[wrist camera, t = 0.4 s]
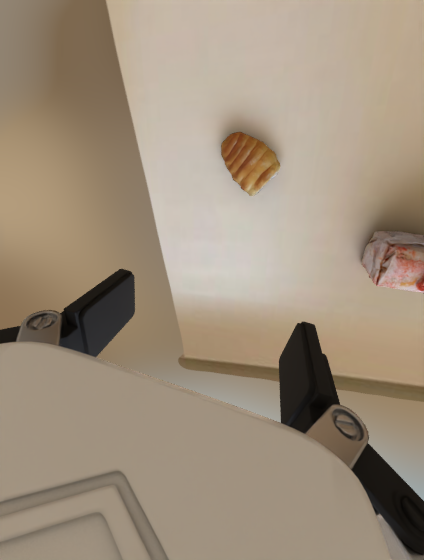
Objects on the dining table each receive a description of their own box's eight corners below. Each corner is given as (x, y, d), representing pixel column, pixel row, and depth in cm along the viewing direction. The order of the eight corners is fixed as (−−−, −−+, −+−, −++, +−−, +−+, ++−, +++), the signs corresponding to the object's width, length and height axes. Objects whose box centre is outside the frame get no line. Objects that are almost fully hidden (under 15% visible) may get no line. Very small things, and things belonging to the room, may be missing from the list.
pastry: (213, 158, 36) (207, 158, 32) (241, 118, 32) (238, 113, 29) (254, 198, 37) (252, 201, 34) (285, 164, 34) (287, 164, 30)
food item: (351, 268, 39) (373, 298, 30) (368, 224, 35) (399, 244, 26) (441, 279, 36) (492, 314, 28) (470, 232, 32) (540, 257, 24)
